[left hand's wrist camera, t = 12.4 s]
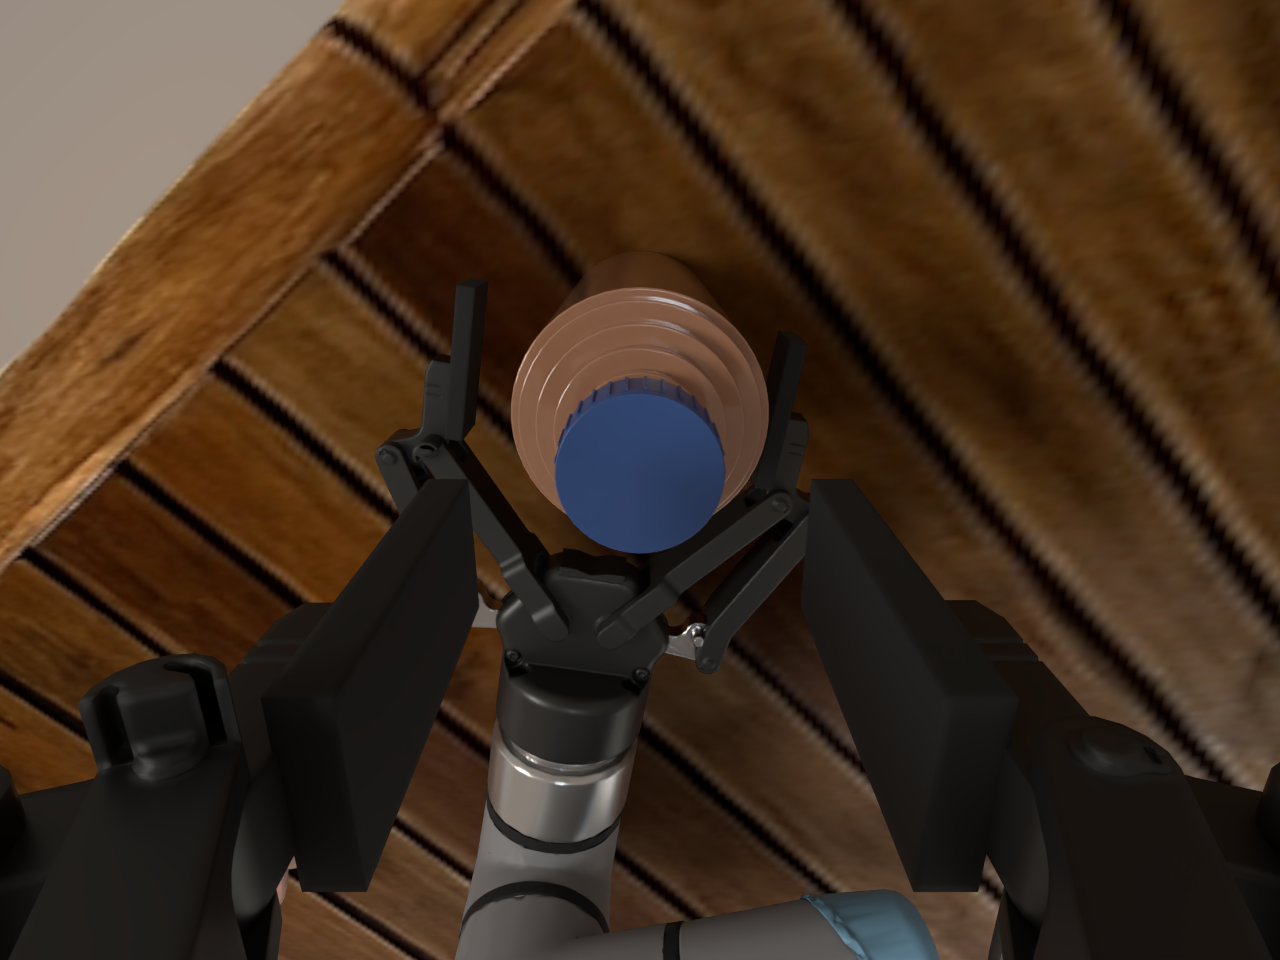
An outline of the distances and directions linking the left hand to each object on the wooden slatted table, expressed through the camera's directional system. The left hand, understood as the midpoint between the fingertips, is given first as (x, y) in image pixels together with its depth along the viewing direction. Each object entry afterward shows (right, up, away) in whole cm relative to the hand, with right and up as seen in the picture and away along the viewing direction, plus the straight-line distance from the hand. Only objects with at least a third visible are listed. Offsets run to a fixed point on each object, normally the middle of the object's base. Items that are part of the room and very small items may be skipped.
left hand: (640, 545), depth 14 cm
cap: (0, +1, +4) cm, 4 cm away
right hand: (0, +8, +17) cm, 19 cm away
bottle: (0, +9, +24) cm, 25 cm away
